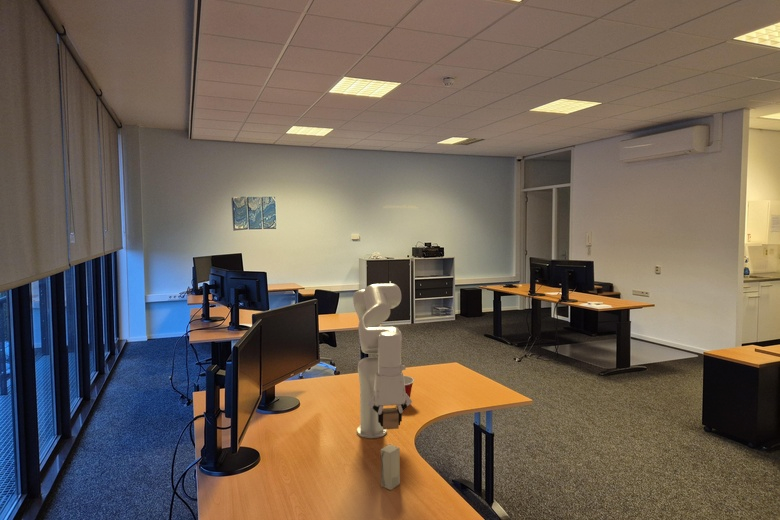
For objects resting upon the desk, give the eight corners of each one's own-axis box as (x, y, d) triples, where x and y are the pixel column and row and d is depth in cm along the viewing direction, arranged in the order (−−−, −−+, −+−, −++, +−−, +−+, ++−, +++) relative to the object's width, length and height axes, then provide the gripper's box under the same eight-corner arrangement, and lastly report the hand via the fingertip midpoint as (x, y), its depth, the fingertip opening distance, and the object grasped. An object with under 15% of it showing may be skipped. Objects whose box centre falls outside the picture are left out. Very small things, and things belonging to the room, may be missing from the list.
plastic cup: (389, 406, 224) (389, 382, 224) (394, 398, 235) (394, 374, 234) (411, 408, 222) (411, 383, 221) (416, 400, 232) (415, 376, 231)
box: (390, 479, 161) (390, 443, 160) (400, 484, 158) (400, 447, 157) (380, 486, 156) (379, 449, 155) (390, 491, 154) (390, 453, 153)
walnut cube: (381, 423, 158) (381, 408, 157) (396, 422, 158) (396, 407, 158) (383, 429, 153) (383, 414, 152) (398, 428, 153) (398, 413, 153)
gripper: (413, 365, 159) (413, 417, 160) (362, 367, 157) (363, 421, 158) (417, 372, 152) (417, 427, 153) (364, 374, 149) (365, 430, 151)
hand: (389, 423), depth 155 cm, fingers closed on walnut cube, 4 cm apart
